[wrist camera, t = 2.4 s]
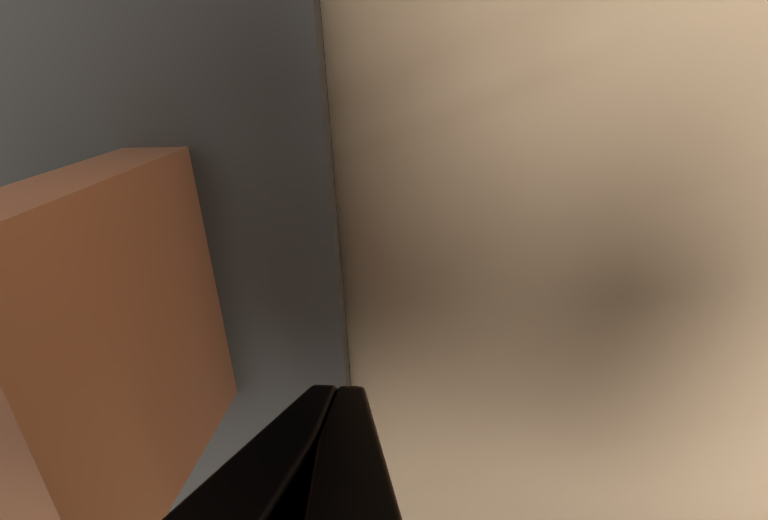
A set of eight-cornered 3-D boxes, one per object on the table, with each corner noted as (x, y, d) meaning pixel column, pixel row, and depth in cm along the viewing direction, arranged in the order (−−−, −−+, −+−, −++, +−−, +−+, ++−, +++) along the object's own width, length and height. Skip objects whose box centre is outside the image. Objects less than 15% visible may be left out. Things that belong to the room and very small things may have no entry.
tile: (237, 392, 14) (106, 620, 8) (182, 389, 14) (18, 612, 8) (188, 146, 11) (-63, 246, 5) (119, 147, 11) (-189, 246, 6)
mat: (360, 514, 16) (358, 530, 16) (-13, 489, 18) (-28, 504, 17) (316, -37, 10) (309, -41, 9) (-269, -1, 11) (-305, -4, 11)
